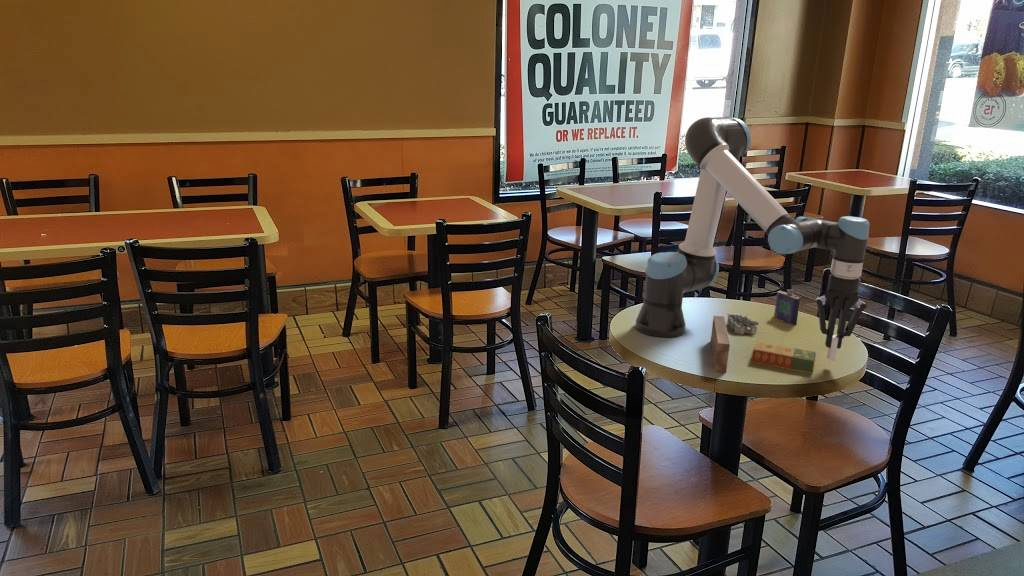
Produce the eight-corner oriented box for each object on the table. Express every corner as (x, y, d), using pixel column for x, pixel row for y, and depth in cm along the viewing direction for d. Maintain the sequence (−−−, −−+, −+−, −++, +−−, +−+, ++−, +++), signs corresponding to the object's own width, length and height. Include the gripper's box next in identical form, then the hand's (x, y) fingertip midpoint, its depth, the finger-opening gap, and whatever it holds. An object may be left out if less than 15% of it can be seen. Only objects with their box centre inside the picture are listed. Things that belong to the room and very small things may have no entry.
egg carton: (758, 335, 226) (760, 323, 225) (734, 335, 226) (735, 322, 225) (747, 324, 237) (749, 312, 235) (724, 323, 237) (726, 311, 235)
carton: (754, 354, 211) (756, 340, 210) (814, 365, 205) (816, 350, 204) (750, 363, 204) (752, 349, 203) (812, 375, 198) (815, 360, 196)
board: (714, 371, 197) (718, 343, 194) (710, 341, 219) (713, 315, 217) (726, 372, 196) (729, 344, 194) (720, 342, 219) (724, 316, 216)
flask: (771, 316, 244) (776, 285, 241) (778, 315, 245) (783, 285, 242) (792, 325, 236) (797, 293, 233) (799, 324, 237) (804, 293, 234)
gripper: (821, 276, 192) (808, 360, 199) (875, 281, 190) (859, 366, 197) (816, 269, 199) (803, 351, 206) (867, 274, 197) (852, 356, 204)
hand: (830, 358), depth 201 cm, fingers closed
